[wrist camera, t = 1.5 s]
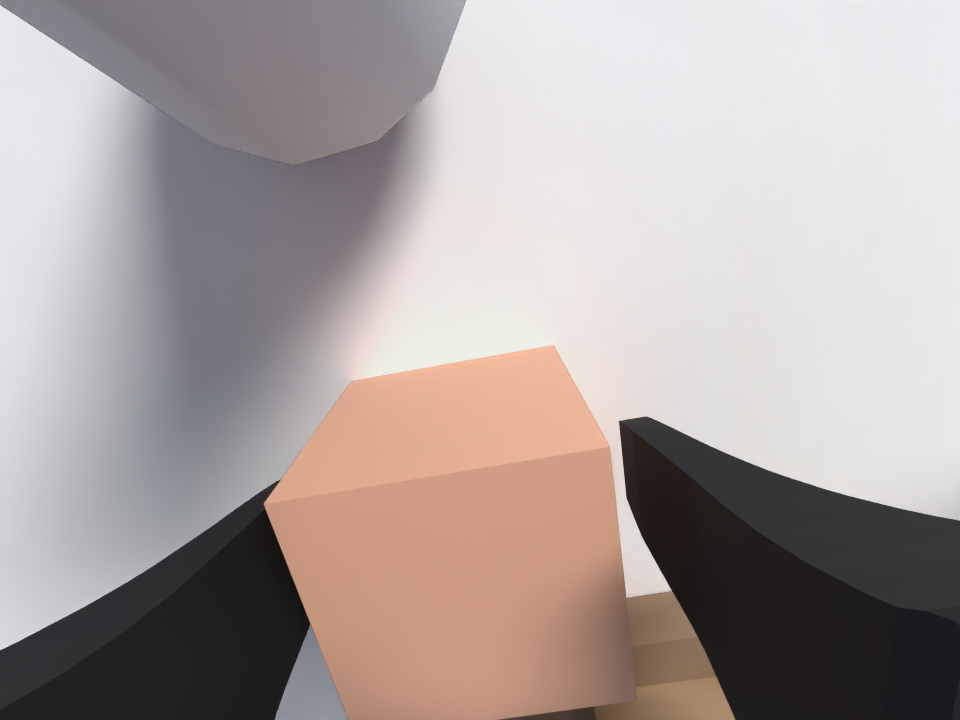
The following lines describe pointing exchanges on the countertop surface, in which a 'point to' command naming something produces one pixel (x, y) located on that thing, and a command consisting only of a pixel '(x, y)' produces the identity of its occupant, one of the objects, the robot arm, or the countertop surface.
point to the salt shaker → (263, 63)
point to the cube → (461, 544)
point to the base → (661, 670)
